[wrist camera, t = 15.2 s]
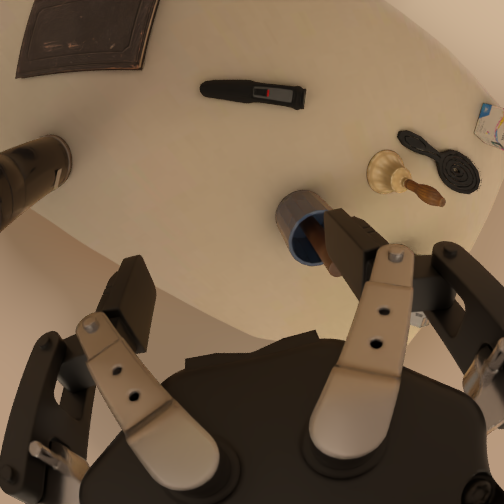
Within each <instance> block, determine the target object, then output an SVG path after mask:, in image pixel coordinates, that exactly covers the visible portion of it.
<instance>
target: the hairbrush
mask: <svg viewBox="0 0 504 504" xmlns="http://www.w3.org/2000/svg"><path fill="white" fill-rule="evenodd" d="M411 136H413V137H415V138H413V137H411ZM397 137H398V139H399V140H400V142H401V143H402V145H404V146H405V147H407V148H408V149H410V150H412V151H414V152H416V153H419V154H422V155H426V156H428V157H430V158H432V159H434V160H435V161H436V163H437V167H438V172H439V176H440V178H441V179H442V181H443V183H445V184H446V185H447V186H448V187H449V188H451V189H452V190H454V191H456V192H459V193H465V194H470V193H472V192H474V191H475V190H477V189H478V187H480V186H481V185H480V186H479V183H480V181H482V180H480V178H479V173H478V170H477V168H476V167H475V166H474V165H473V163H472V162H471V160H470V159H468V158H467V156H464V155H463V154H461V153H460V152H458V151H454V150H447V151H444V152H438V151H437V150H436V149H434V148H433V147H432V146H431V145H430V144H428V143H427V142H426V141H425V140H424V139H423V138H422V137H421V136H419V135H417V134H415V133H413V132H410V131H407V130H404V131H399V132H398V136H397ZM416 138H417V139H416ZM418 139H419V140H418ZM410 145H411V146H412V147H411V146H410ZM413 147H414V148H413ZM418 149H419V150H418ZM421 150H424V151H421ZM425 151H429V152H425ZM430 152H432V153H430ZM433 153H435V154H436V155H435V154H433ZM452 154H456V155H458V156H456V155H452ZM437 155H438V156H437ZM459 156H460V157H461V158H460V157H459ZM462 158H463V159H464V160H463V159H462ZM453 159H454V160H453ZM456 160H457V161H456ZM458 161H459V162H458ZM460 162H461V163H462V164H461V163H460ZM454 164H456V165H454ZM463 164H464V165H465V166H464V165H463ZM457 165H459V166H460V167H459V166H457ZM453 168H457V170H458V171H457V172H454V169H453ZM455 170H456V169H455ZM447 174H448V175H449V176H448V175H447ZM453 174H454V175H453ZM455 175H457V176H455ZM451 177H452V178H453V179H452V178H451ZM454 179H455V180H454ZM456 180H459V181H456ZM451 183H452V184H451ZM481 183H482V182H481ZM453 184H454V185H453ZM455 185H457V186H455ZM479 189H480V188H479Z"/></svg>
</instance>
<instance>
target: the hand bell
mask: <svg viewBox="0 0 504 504" xmlns="http://www.w3.org/2000/svg"><path fill="white" fill-rule="evenodd" d="M367 179H368V183H369V185H370V187H371V188H372V189H373V190H374V191H376V192H377V193H380V194H388V193H391V192H393V191H395V192H397V193H402V192H405V191H406V190H407V189H409V190H411V191H413V192H415V193H416V194H417V196H418V197H419V198H420V199H421V200H422V201H424V202H425V203H427V204H429V205H433V206H440V207H443V206H444V205H445V203H446V201H445V199H444V198H443V197H442V196H441V194H440V193H439V192H438V191H437V190H436V189H435V188H433V187H431V186H428V185H424V184H418V183H416V182H414V181H412V180H411V179H412V178H411V174H410V172H409V171H408V170H407V169H406V168H405V167H404V164H403V161H402V159H401V158H400V156H399V155H398V154H397V153H395V152H393V151H390V150H384V151H381V152H379V153H377V154H376V155H374V157H373V158H372V159H371V161H370V163H369V165H368V169H367Z"/></svg>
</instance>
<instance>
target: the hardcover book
mask: <svg viewBox="0 0 504 504" xmlns="http://www.w3.org/2000/svg"><path fill="white" fill-rule="evenodd" d="M159 1H160V0H35V1H34V4H33V7H32V10H31V13H30V16H29V19H28V23H27V26H26V30H25V34H24V38H23V42H22V46H21V50H20V55H19V60H18V65H17V71H16V77H15V79H17V78H21V79H22V78H28V77H34V76H41V75H48V74H56V73H66V72H78V71H95V70H142V67H143V62H144V58H145V53H146V49H147V45H148V40H149V36H150V33H151V29H152V25H153V21H154V18H155V14H156V11H157V8H158V4H159Z"/></svg>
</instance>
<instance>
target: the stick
mask: <svg viewBox="0 0 504 504" xmlns="http://www.w3.org/2000/svg"><path fill="white" fill-rule="evenodd" d="M299 226H300V228H301V229H302V231H303V232H304V234H305V235H306V237H307V238H308V240H309V241H310V243H311V245H312V246H313V248H314V249H315V251H316V252H317V254H318V255H319V257H320V259H321V260H322V262H323V263H324V265H325V266H326V268H327V270H328V271H329V273H330V274H331V275H332V276H334V277H339V276H342V275H341V273H340V272H339V270H338V269H337V268H336V266H335V265H334V263H333V262H332V260H331V259H330V257H329V255H328V253H327V250H326V244H325V230H324V229H323V227H322V226H321V225H320V224H319V222H318V221H317V220H316V219H315V218H314V216H313V215H312V216H309V217H307V218H306V219H304V220H303V221H302V222H301V223H300V224H299Z"/></svg>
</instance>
